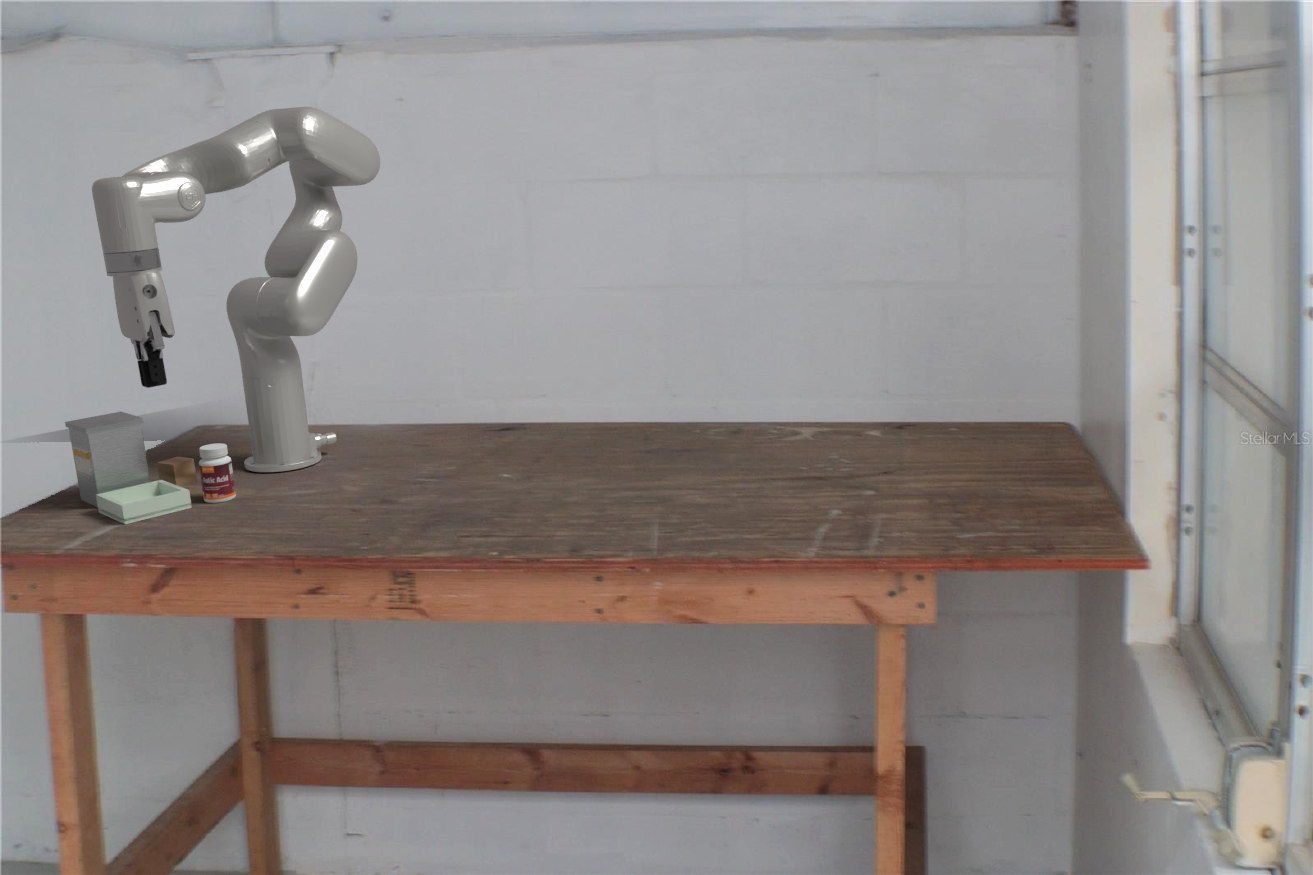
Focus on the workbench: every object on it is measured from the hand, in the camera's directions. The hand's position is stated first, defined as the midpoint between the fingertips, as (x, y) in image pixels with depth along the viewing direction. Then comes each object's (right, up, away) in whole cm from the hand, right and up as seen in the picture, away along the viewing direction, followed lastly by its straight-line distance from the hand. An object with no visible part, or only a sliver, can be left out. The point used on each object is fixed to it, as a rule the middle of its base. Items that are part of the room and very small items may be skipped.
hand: (154, 385), depth 182 cm
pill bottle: (+8, -18, +5) cm, 20 cm away
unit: (-9, -17, +9) cm, 22 cm away
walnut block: (-2, -16, +15) cm, 22 cm away
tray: (-2, -19, +1) cm, 19 cm away
